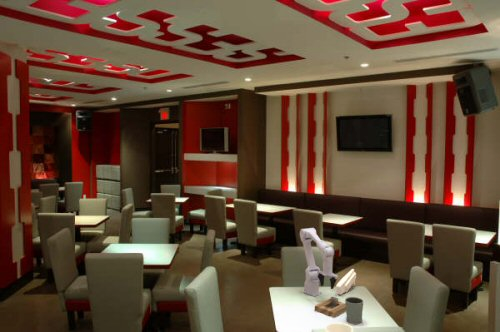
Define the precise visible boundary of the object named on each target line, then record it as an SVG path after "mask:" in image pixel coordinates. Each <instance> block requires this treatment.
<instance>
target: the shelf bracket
mask: <svg viewBox="0 0 500 332" xmlns="http://www.w3.org/2000/svg"><path fill="white" fill-rule="evenodd" d="M356 279H357V273H356V272H355V268H351V270H349V271H348V272H347V273H346V274H345V275H344V276H343V277H342V278H341V279H340V280H339V281H338V282H337V284H335V285H336V286H335V289H336V294H338V295H343V294H344V293H345V292H346V293H347V292H348V291H349V290H350V289H351V288H352V285H353V286H356Z"/></svg>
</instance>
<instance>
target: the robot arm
mask: <svg viewBox="0 0 500 332" xmlns="http://www.w3.org/2000/svg"><path fill="white" fill-rule="evenodd" d="M299 238H300V241H301V242H302V246H303V250H304V253H305V258H306V259H305V260H306V263H307V268H306V269H305V271H304V272H305V281H304V286H303V288H304V290H303V293H304V294H307V295H309V296H312V297H316V296H319V295H321V294H322V292H321V291H320V286H321V287H323V286H324V284H325V277H329V282H330V290H333V289H334V288H335V285H336V282H337V280H338V278H339V275H338V274H335V273H334V272H333V257H334V255H335V250H334V248H333V246H329V245H328V244H327V243H326V242H325V241H324V239H321V238H320V237H319V236H318V234H317V230H316V229H315V228H314V227H309V228H301V229H300V231H299ZM312 241H314V243H316V247H317V248H318V250H319V251H320V252H321V259H322V270H321V269H320V267H319V266H317V265H316V260H315V257H314V253H313V252H314V251H313V248H312V243H311V242H312Z"/></svg>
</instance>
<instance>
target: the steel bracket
mask: <svg viewBox="0 0 500 332" xmlns="http://www.w3.org/2000/svg"><path fill="white" fill-rule="evenodd" d="M329 299H330V306H329V307H327V308H330V309H333V308H335V307H337V306H338V301H339V298H338V297H337V296H336V297H335V296H331V297H330V298H329Z"/></svg>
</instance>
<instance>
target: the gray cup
mask: <svg viewBox="0 0 500 332" xmlns="http://www.w3.org/2000/svg"><path fill="white" fill-rule="evenodd" d="M344 302H345V304H346V311H345V313H346V315H345V316H346V321H347V322H348V323H349V324H355V325H357V324H361V323H362V322H363V310H364V299H362V298H360V297H356V296H348V297H346V298H345V300H344Z"/></svg>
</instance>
